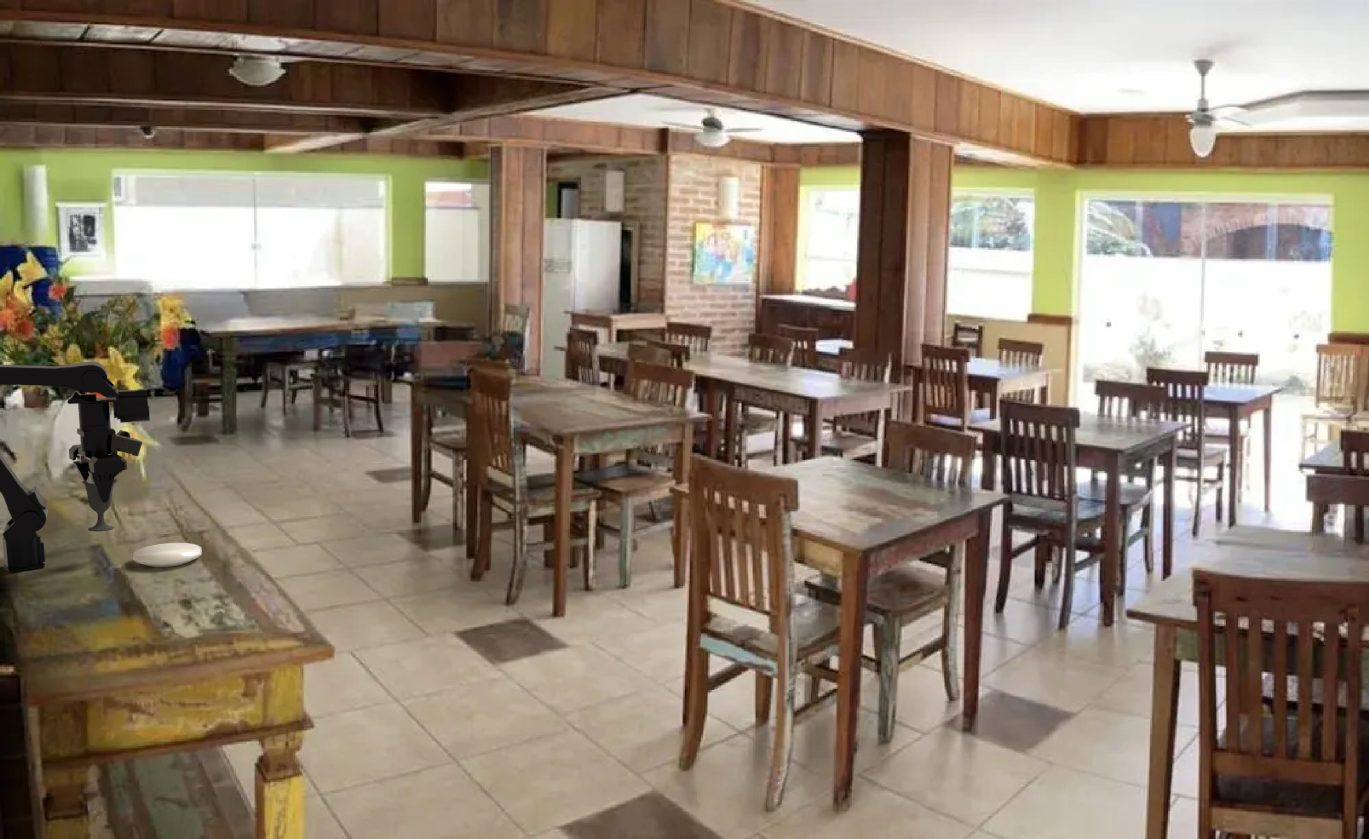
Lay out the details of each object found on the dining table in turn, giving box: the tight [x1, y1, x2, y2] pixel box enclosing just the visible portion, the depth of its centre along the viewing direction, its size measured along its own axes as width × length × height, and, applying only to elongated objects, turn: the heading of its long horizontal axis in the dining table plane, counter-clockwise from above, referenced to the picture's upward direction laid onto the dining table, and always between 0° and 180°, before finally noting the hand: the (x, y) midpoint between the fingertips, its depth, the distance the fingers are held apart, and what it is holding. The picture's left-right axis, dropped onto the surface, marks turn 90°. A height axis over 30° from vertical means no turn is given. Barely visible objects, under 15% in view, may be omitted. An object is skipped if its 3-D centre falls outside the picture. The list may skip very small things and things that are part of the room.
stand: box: [132, 542, 202, 568], centre depth 248 cm, size 13×13×2 cm
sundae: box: [81, 476, 118, 532], centre depth 245 cm, size 7×7×15 cm
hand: (99, 498), depth 246 cm, fingers closed on sundae, 7 cm apart
